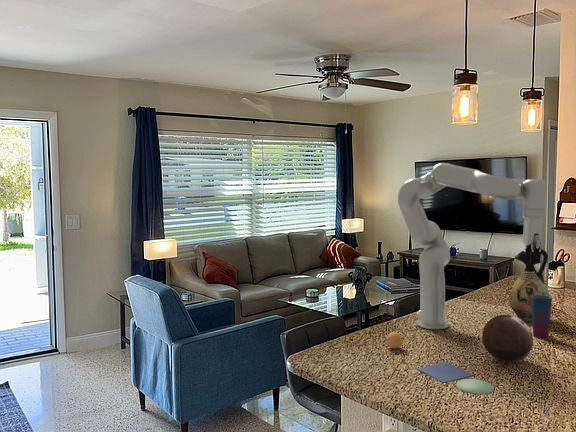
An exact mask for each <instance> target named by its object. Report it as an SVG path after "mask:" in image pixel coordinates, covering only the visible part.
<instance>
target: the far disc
mask: <svg viewBox="0 0 576 432" xmlns="http://www.w3.org/2000/svg"><path fill="white" fill-rule="evenodd" d="M455 386H456V387H457V388H458V389H459V390H460V391H463V392H465V393H469V394H473V395H486V394H490V393H492V392H493V391H494V389H495V388H494V386H493V384H491V383H489V382H487V381H485V380H481V379H478V378H477V379H475V378H462V379H459V380H457V382H456V384H455Z"/></svg>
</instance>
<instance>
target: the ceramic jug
mask: <svg viewBox="0 0 576 432" xmlns="http://www.w3.org/2000/svg"><path fill="white" fill-rule="evenodd" d="M541 256H543V258H542V261H541V262H542V263H531V262H530V259H526V258H525V250H522V251H520V252H519V253H518V254H516V255H515V256H514V260H515V261H518V262H521V263H523V264H524V265H525V268H524V270H523V272H522V273H521V274H520V275H519V277H518V278H517V279H516V281H514V284H513V285H512V287H511V290H510V293H509V298H508V299H509V306H510V308H511V310H512V311H513V312H514V313H515V316H516V317H518V318H519V319H521V320H522V321H524V322H528V323H529V322H530V323H533V320H532V300H531V296H532V295H536V294H539V295H548V296H551V295H550V291H549V289H548V287H547V285H546V284H545V279H544V275H543V272H544V271H545V269H546V266H547V263H548V259H549V256H548V252H547V251H546V250H545V249H544V248H541ZM539 264H541V265H540V267H539V268H538V271H537V269H536V267H535V265H539Z"/></svg>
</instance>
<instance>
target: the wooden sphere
mask: <svg viewBox="0 0 576 432" xmlns="http://www.w3.org/2000/svg"><path fill="white" fill-rule="evenodd" d="M481 339H482V343H483V346H484V349H485V350H486V351H487V353H488V354H489V355H490V356H491V357H493V358H494V359H495V360H498V361H500V362H502V363H512V364H513V363H517V362H519V361H520V362H521V361H522V360H524V359H525V358H526V357H528V355H529V354H530V352H531V351H532V349H533V346H534V345H533V344H534V336H533V331H531V328H530V327H529V325H528V324H527V323H526V321H522V320H521V319H519V318H518V317H517V316H516V315H515V316H514V315H513V314H512V315H510V314H499V315H495V316H494V317H492V318H490V319H489V320H488V321H487V322H486V324H485V325H484V327H483V330H482V335H481Z"/></svg>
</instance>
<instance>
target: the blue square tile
mask: <svg viewBox="0 0 576 432" xmlns="http://www.w3.org/2000/svg"><path fill="white" fill-rule="evenodd" d="M416 370H417V371H419V372H421V373H423V374H425V375H427V376H429V377H431V378H433V379H435V380H437V381H439V382H441V383H443V384H445V383H449V382H453V381H459V380H463V379H467V378H470V377H474V376H475V374H474V373H471V372H469V371H467V370H465V369H462V368H461V367H458V366H455V365H454V364H451V363H449V362H447V361H445V362H440V363H436V364H431V365H427V366H423V367H422V366H421V367H418V368H416Z"/></svg>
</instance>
